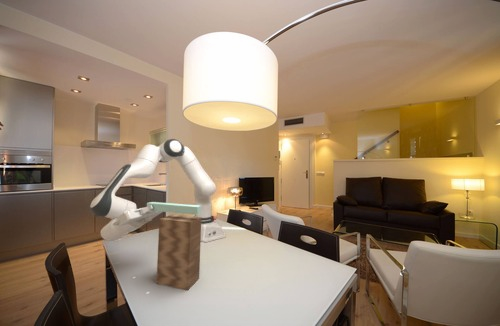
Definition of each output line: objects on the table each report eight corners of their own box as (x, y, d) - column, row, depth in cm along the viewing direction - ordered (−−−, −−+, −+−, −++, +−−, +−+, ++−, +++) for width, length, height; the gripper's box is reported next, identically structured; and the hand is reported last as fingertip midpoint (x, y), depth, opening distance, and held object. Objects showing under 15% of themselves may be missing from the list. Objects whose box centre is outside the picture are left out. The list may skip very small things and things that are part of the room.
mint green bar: (146, 210, 78) (146, 203, 79) (151, 208, 81) (152, 201, 82) (197, 214, 72) (197, 207, 73) (201, 213, 75) (201, 205, 75)
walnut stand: (156, 283, 73) (159, 218, 74) (170, 273, 80) (172, 214, 81) (188, 290, 69) (190, 222, 70) (199, 278, 77) (201, 217, 78)
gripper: (107, 218, 72) (132, 202, 70) (148, 208, 92) (169, 195, 89) (112, 233, 71) (139, 218, 69) (153, 220, 91) (174, 207, 88)
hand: (156, 205), depth 79 cm, fingers closed on mint green bar, 3 cm apart
